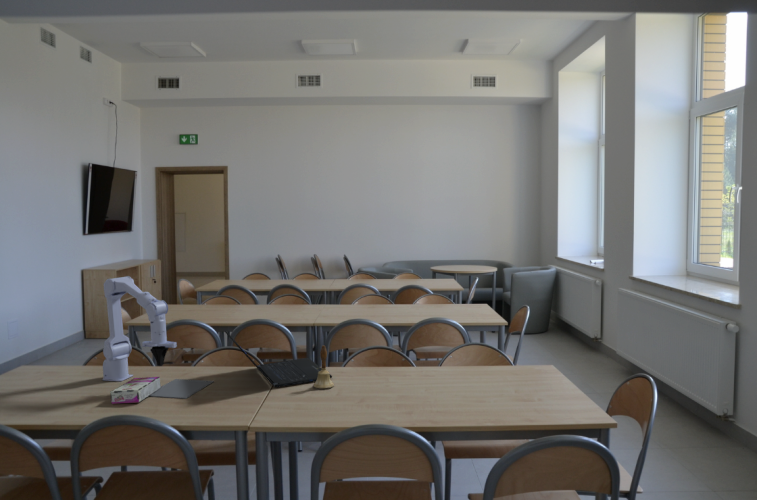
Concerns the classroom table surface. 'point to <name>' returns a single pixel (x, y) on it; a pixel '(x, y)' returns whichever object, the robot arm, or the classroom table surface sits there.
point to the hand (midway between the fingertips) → (160, 364)
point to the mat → (180, 388)
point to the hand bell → (323, 372)
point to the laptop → (287, 370)
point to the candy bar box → (135, 390)
